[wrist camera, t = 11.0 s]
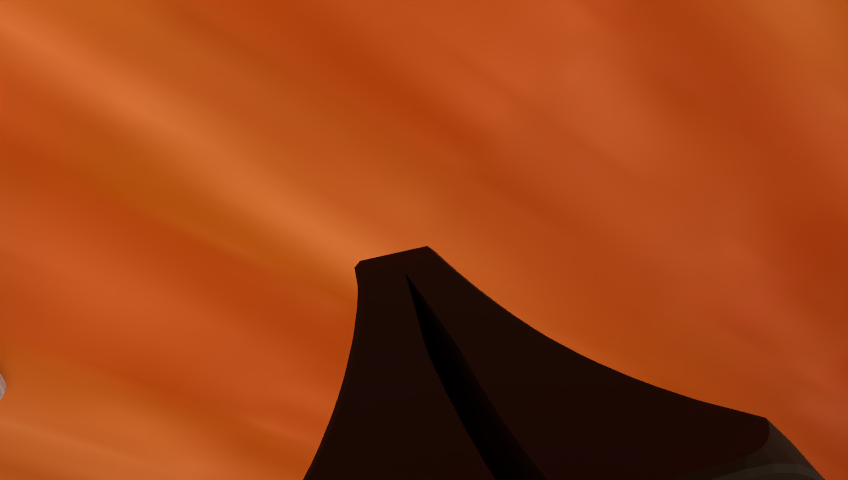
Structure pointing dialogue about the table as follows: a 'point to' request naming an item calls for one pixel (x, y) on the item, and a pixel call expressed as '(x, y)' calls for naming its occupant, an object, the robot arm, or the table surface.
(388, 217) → the table surface
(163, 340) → the table surface
